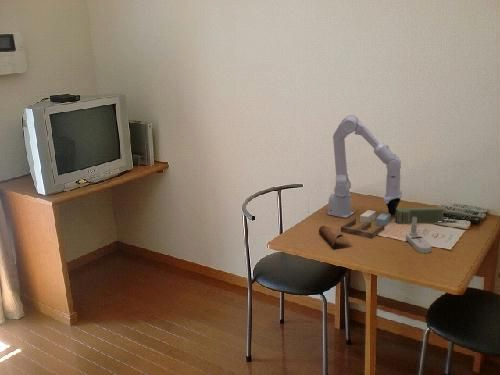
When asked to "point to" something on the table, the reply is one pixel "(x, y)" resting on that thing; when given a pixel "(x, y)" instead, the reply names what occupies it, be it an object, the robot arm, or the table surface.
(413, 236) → the electronic device
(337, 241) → the sunglasses case
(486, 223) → the table surface
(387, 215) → the light blue block
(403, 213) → the handheld radio
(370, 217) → the cream rectangular block
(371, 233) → the rack
